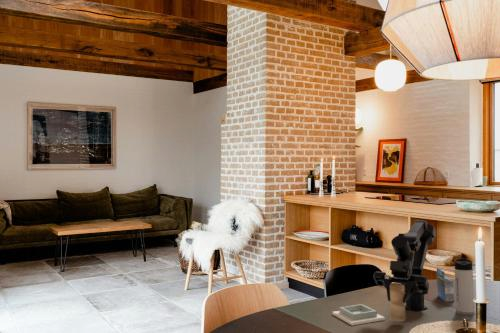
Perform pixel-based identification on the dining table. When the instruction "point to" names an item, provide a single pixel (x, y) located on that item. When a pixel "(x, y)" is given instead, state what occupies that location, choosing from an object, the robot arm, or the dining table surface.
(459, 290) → the travel mug
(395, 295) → the tan cylinder
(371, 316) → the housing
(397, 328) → the dining table surface
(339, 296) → the dining table surface
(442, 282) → the label tape box
